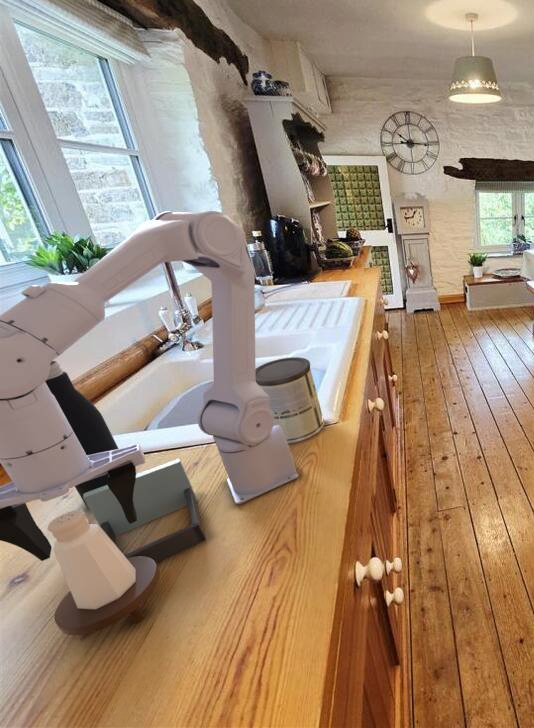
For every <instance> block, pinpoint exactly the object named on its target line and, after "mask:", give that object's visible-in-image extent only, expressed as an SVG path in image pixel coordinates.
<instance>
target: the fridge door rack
mask: <svg viewBox="0 0 534 728" xmlns="http://www.w3.org/2000/svg"><path fill="white" fill-rule="evenodd" d="M83 499H84V500H85V502H86V504H87V506H88V507H89V508H88V509H89V511H90V513H91V514H92V516H93V518H94V519H95V521H96V523H97V524H98V525H99V526H100V527H101V528H102V530H103V531H104V532H105V533H106V534H107V536H108V537H109V538H110V539H111V540H112V542H113V543H114V544H115V545H116V546H117V537H118V536H120V535H122V534H124V533H127V532H130V531H131V530H134V529H136V528H138V527H141V526H144V525H146V524H148V523H150V522H152V521H155V520H157V519H159V518H162V517H164V516H167V515H169V514H171V513H173V512H176V511H179V510H181V509H183V508H185V507H187V511H188V516H189V520H190V522H191V524H190V525H187V526H185V527H182V528H181V529H178V530H176V531H173V532H172V533H170V534H168V535H165V536H162V537H161V538H159V539H157V540H154V541H151V542H150V543H148V544H145V545H143V546H140V547H138V548H137V549H134V550H132V551H130V552H127V553H125V554H123V555H124V556H125V557H126V558H131V557H138V556H143V557H149V558H151V559H153V560H154V561H155V563H156V564H158V563H160V562H162V561H164V560H166V559H169V558H171V557H172V556H174V555H176V554H179V553H181V552H183V551H185V550H188V549H189V548H191V547H193V546H195V545H196V546H197V544H200V543H202V542H204V541H206V535H205V531H204V527H203V525H202V520H201V516H200V515H201V514H200V511H199V508H198V504H197V502H198V498H197V495H196V493H195V491H194V488H193V486H192V484H191V481H190V478H189V477H188V473H187V472H186V470H185V467H184V465H183V464H182V461H181V458H176V459H174V460H171V461H168V462H165V463H163V464H160V465H158V466H155V467H152V468H149V469H146V470H143V471H141V472H138V473H136V481H135V485H134V492H133V503H134V507H135V510H136V513H137V521H136V522H133V523H131V524H129V522H128V521H127V519H126V516H125V514H124V511H123V509H122V507H121V505H120V503H119V501H118V500H117V498H116V497H115V495H114V494H113V493H112V491H111V490H110V489H109V487H108V485H106V486H103V487H100V488H97V489H95V490H92V491H89V492H87V493H84V495H83ZM87 506H86V507H87Z"/></svg>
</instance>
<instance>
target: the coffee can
mask: <svg viewBox="0 0 534 728" xmlns="http://www.w3.org/2000/svg"><path fill="white" fill-rule="evenodd" d="M255 375H256V383H257V384H258V385H259V386H260V387H261V388H262V389H263V390H264V391H265V392H266V393H267V395H268V396H269V406H270V408H271V410H272V412H273V414H274V426H275V425H279V426H280V427H281V428H282V430H283V432H284V435H285V437H286V439H287V442H288V445H290V444H294V443H300V442H303V441H305V440H308V439H310V438H312V437H314V436H315V435H316V434H318V433H320V431H321V430H322V429H323V428H324V426H325V419H324V418H323V422H322V416H323V412H322V409H321V405H320V400H319V397H318V392H317V389H316V385H315V381H314V378H313V373H312V370H311V362H310V361H309V359H307V358H304V357H298V356H297V357H296V356H295V357H291V356H290V357H284V358H279V359H275V360H272V361H268V362H265V363H263V364H261V365H259V366H257V367H255Z"/></svg>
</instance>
